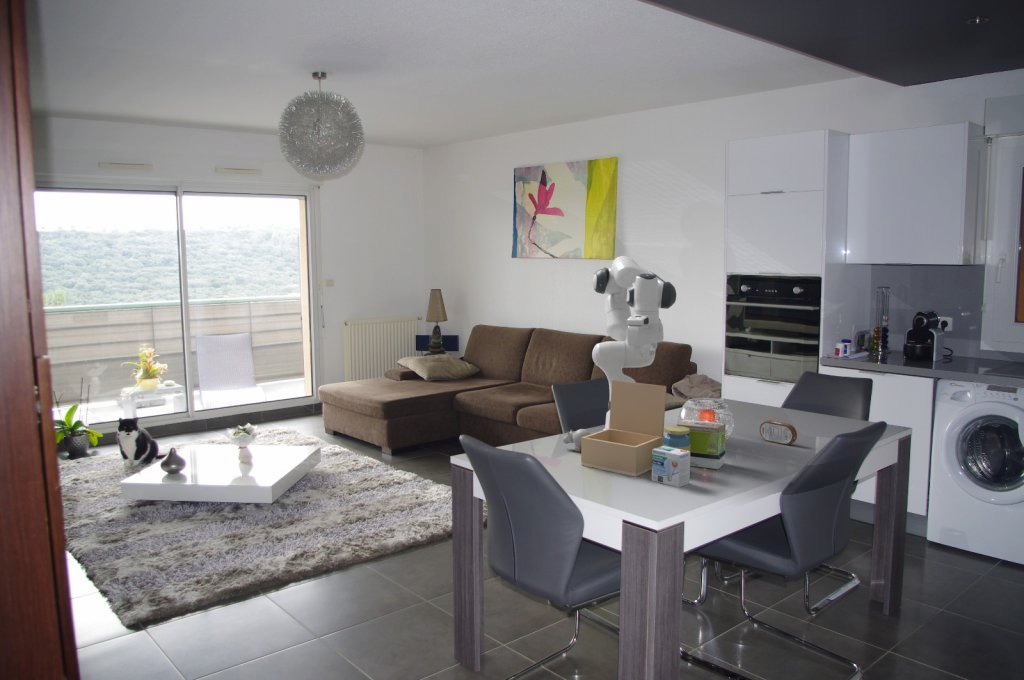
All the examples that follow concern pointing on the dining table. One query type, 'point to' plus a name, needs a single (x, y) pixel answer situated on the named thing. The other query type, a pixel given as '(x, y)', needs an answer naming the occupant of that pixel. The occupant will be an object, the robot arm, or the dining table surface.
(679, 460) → the light bulb box
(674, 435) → the jar
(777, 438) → the tin
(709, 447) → the tea box
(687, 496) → the dining table surface
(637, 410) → the carton flap
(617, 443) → the carton
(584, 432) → the toy rhinoceros
